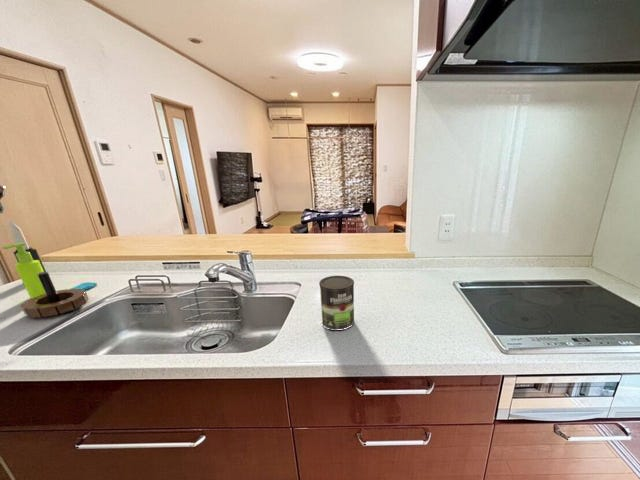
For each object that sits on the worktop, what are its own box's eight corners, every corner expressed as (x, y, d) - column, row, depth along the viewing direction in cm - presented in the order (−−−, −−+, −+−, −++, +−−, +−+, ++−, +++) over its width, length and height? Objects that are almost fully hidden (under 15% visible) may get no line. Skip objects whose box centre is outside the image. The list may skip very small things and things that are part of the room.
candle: (40, 277, 125) (13, 218, 116) (50, 277, 125) (24, 218, 115) (25, 281, 120) (-4, 221, 111) (36, 282, 120) (7, 221, 110)
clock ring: (16, 321, 90) (12, 313, 89) (36, 302, 102) (32, 294, 100) (81, 310, 97) (78, 302, 96) (92, 293, 109) (90, 285, 107)
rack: (34, 318, 94) (15, 280, 89) (45, 306, 101) (28, 271, 96) (72, 311, 98) (56, 275, 93) (80, 301, 105) (65, 266, 100)
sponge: (51, 295, 107) (65, 294, 106) (83, 282, 118) (96, 281, 117) (53, 299, 108) (67, 298, 107) (85, 285, 119) (98, 284, 118)
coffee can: (359, 327, 91) (359, 285, 85) (326, 334, 87) (324, 291, 81) (348, 312, 99) (347, 273, 94) (318, 318, 95) (315, 278, 90)
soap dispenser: (23, 299, 106) (-3, 245, 99) (48, 291, 112) (25, 240, 104) (32, 302, 104) (5, 247, 97) (57, 294, 110) (34, 242, 102)
